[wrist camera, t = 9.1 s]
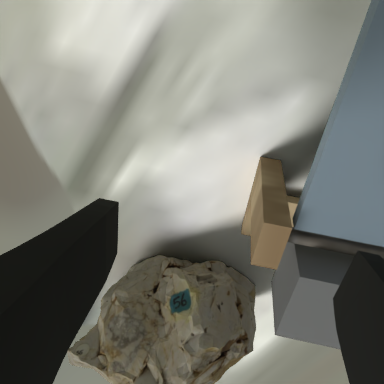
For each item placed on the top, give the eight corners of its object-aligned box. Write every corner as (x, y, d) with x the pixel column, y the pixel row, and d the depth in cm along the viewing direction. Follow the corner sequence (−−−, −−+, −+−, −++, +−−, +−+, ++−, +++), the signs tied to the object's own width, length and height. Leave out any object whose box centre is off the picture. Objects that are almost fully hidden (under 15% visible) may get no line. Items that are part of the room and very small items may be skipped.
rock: (258, 239, 21) (193, 406, 15) (273, 300, 25) (227, 455, 19) (113, 222, 27) (22, 335, 21) (143, 273, 31) (74, 383, 25)
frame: (490, 200, 19) (589, 288, 13) (442, 267, 22) (507, 363, 16) (260, 156, 20) (263, 222, 14) (241, 226, 22) (237, 305, 17)
